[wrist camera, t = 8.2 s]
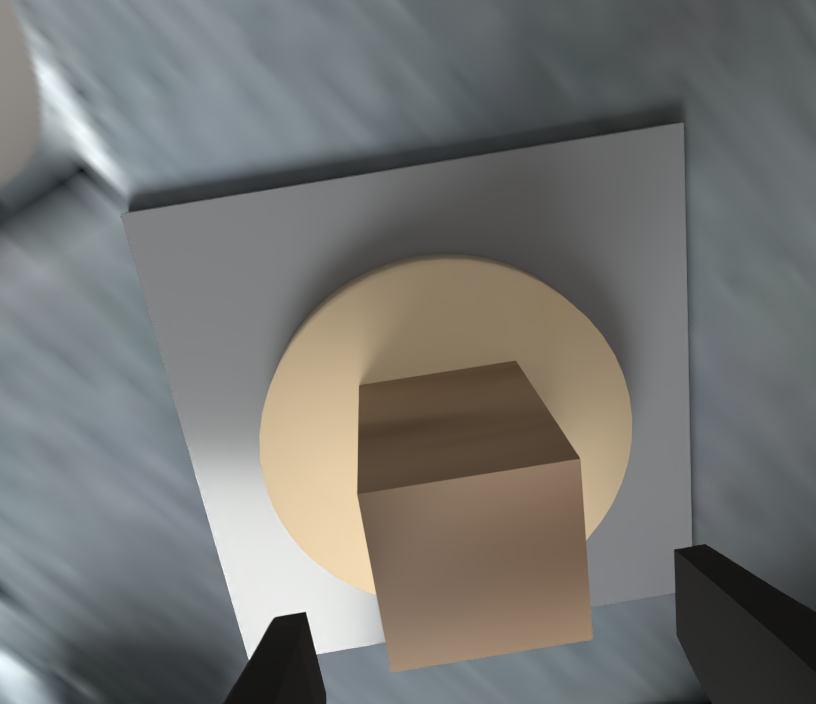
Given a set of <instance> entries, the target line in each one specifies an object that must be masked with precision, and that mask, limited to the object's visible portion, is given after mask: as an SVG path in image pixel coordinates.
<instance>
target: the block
mask: <svg viewBox="0 0 816 704" xmlns="http://www.w3.org/2000/svg"><path fill="white" fill-rule="evenodd" d="M357 496H358V502H359V507H360V512H361V517H362V523H363V528H364V533H365V538H366V543H367V549H368V554H369V559H370V564H371V570H372V575H373V580H374V585H375V591H376V596H377V601H378V606H379V611H380V617H381V622H382V627H383V632H384V638H385V643H386V648H387V653H388V659H389V664H390V669H391V672H397V671H403V670H410V669H416V668H422V667H428V666H434V665H440V664H446V663H452V662H458V661H465V660H471V659H477V658H483V657H489V656H495V655H501V654H507V653H513V652H520V651H526V650H532V649H538V648H544V647H550V646H556V645H562V644H568V643H575V642H581V641H587V640H593V635H592V620H591V606H590V591H589V576H588V561H587V547H586V532H585V517H584V503H583V488H582V473H581V459H580V457H579V456H578V454H577V453H576V451H575V450H574V448H573V447H572V445H571V444H570V442H569V440H568V439H567V437H566V436H565V434H564V433H563V431H562V430H561V428H560V427H559V425H558V424H557V422H556V421H555V419H554V418H553V416H552V415H551V413H550V412H549V410H548V409H547V407H546V405H545V404H544V402H543V401H542V399H541V398H540V396H539V395H538V393H537V392H536V390H535V389H534V387H533V386H532V384H531V383H530V381H529V380H528V378H527V377H526V375H525V374H524V372H523V371H522V369H521V367H520V366H519V364H518V363H517V361H510V362H503V363H497V364H491V365H484V366H478V367H472V368H465V369H459V370H453V371H446V372H440V373H434V374H427V375H421V376H414V377H408V378H402V379H395V380H389V381H383V382H376V383H370V384H364V385H359V406H358V470H357Z"/></svg>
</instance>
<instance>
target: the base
mask: <svg viewBox="0 0 816 704" xmlns="http://www.w3.org/2000/svg"><path fill="white" fill-rule="evenodd" d="M121 218H122V221H123V225H124V228H125V232H126V235H127V239H128V242H129V246H130V249H131V253H132V256H133V260H134V263H135V267H136V270H137V274H138V277H139V280H140V284H141V287H142V291H143V294H144V298H145V301H146V305H147V308H148V312H149V315H150V319H151V322H152V326H153V329H154V333H155V336H156V339H157V343H158V346H159V350H160V353H161V357H162V360H163V364H164V367H165V371H166V374H167V378H168V381H169V385H170V388H171V392H172V395H173V399H174V402H175V405H176V409H177V412H178V416H179V419H180V423H181V426H182V430H183V433H184V437H185V440H186V444H187V447H188V451H189V454H190V458H191V461H192V464H193V468H194V471H195V475H196V478H197V482H198V485H199V489H200V492H201V496H202V499H203V503H204V506H205V510H206V513H207V517H208V520H209V523H210V527H211V530H212V534H213V537H214V541H215V544H216V548H217V551H218V555H219V558H220V562H221V565H222V569H223V572H224V576H225V579H226V583H227V586H228V589H229V593H230V596H231V600H232V603H233V607H234V610H235V614H236V617H237V621H238V624H239V628H240V631H241V635H242V638H243V642H244V645H245V648H246V652H247V655H248V659H249V660H250V658H251V656H252V655H253V653H254V651H255V649H256V648H257V646H258V644H259V642H260V640H261V639H262V637H263V635H264V633H265V631H266V630H267V628H268V626H269V624H270V622H271V621H272V620H273V619H274V617H278V616H284V615H290V614H295V613H301V612H306V614H307V618H308V622H309V626H310V631H311V635H312V639H313V643H314V647H315V651H316V654H321V653H327V652H332V651H338V650H344V649H350V648H356V647H362V646H367V645H373V644H379V643H385V638H384V632H383V627H382V622H381V617H380V611H379V606H378V601H377V596H376V591H375V585H374V580H373V575H372V570H371V564H370V559H369V554H368V549H367V543H366V538H365V533H364V528H363V523H362V517H361V512H360V507H359V502H358V496H357V470H358V406H359V385H364V384H370V383H376V382H383V381H389V380H395V379H402V378H408V377H414V376H421V375H427V374H434V373H440V372H446V371H453V370H459V369H465V368H472V367H478V366H484V365H491V364H497V363H503V362H510V361H517V363H518V364H519V366H520V367H521V369H522V371H523V372H524V374H525V375H526V377H527V378H528V380H529V381H530V383H531V384H532V386H533V387H534V389H535V390H536V392H537V393H538V395H539V396H540V398H541V399H542V401H543V402H544V404H545V405H546V407H547V409H548V410H549V412H550V413H551V415H552V416H553V418H554V419H555V421H556V422H557V424H558V425H559V427H560V428H561V430H562V431H563V433H564V434H565V436H566V437H567V439H568V440H569V442H570V444H571V445H572V447H573V448H574V450H575V451H576V453H577V454H578V456H579V457H580V459H581V473H582V488H583V503H584V517H585V532H586V547H587V561H588V576H589V591H590V606H591V607H595V606H601V605H607V604H613V603H618V602H624V601H630V600H636V599H642V598H648V597H653V596H659V595H665V594H671V593H675V566H674V549H680V548H686V547H692V512H691V461H690V410H689V359H688V308H687V258H686V207H685V156H684V123H670V124H664V125H658V126H652V127H645V128H639V129H633V130H627V131H621V132H615V133H609V134H602V135H596V136H590V137H584V138H578V139H572V140H566V141H559V142H553V143H547V144H541V145H535V146H529V147H523V148H517V149H510V150H504V151H498V152H492V153H486V154H480V155H474V156H467V157H461V158H455V159H449V160H443V161H437V162H431V163H424V164H418V165H412V166H406V167H400V168H394V169H388V170H381V171H375V172H369V173H363V174H357V175H351V176H345V177H338V178H332V179H326V180H320V181H314V182H308V183H302V184H296V185H289V186H283V187H277V188H271V189H265V190H259V191H253V192H246V193H240V194H234V195H228V196H222V197H216V198H210V199H203V200H197V201H191V202H185V203H179V204H173V205H167V206H160V207H154V208H148V209H142V210H136V211H130V212H126V213H123V214H121Z"/></svg>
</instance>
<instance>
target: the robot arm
mask: <svg viewBox="0 0 816 704" xmlns="http://www.w3.org/2000/svg"><path fill="white" fill-rule="evenodd" d="M674 566H675V597H676V628H677V637H678V639H679V641H680V643H681V645H682V647H683V650H684V652H685V654H686V656H687V658H688V660H689V662H690V664H691V666H692V668H693V670H694V672H695V674H696V676H697V678H698V680H699V682H700V684H701V686H702V688H703V690H704V691H705V693H706V694H707V696H708V698H709V699H710V701H711V702H712V704H816V612H815V611H813V610H811V609H809V608H808V607H806V606H804V605H803V604H801V603H799V602H797V601H796V600H794V599H792V598H791V597H789V596H788V595H786V594H784V593H783V592H781V591H779V590H778V589H776V588H774V587H773V586H771V585H770V584H768V583H766V582H765V581H763V580H762V579H760V578H758V577H757V576H755V575H754V574H752V573H750V572H749V571H747V570H746V569H744V568H743V567H741V566H739V565H738V564H736V563H735V562H733V561H732V560H730V559H728V558H727V557H725V556H724V555H722V554H720V553H719V552H717V551H716V550H714V549H712V548H711V547H709V546H707V545H706V544H703V545H697V546H692V547H686V548H680V549H674ZM223 704H326V692H325V688H324V684H323V680H322V675H321V671H320V667H319V663H318V659H317V655H316V651H315V647H314V643H313V639H312V635H311V631H310V626H309V622H308V618H307V614H306V612H301V613H295V614H290V615H284V616H278V617H274V619H273V620H272V621H271V622H270V624H269V626H268V628H267V630H266V631H265V633H264V635H263V637H262V639H261V640H260V642H259V644H258V646H257V648H256V649H255V651H254V653H253V655H252V656H251V658H250V660H249V661H248V663H247V665H246V667H245V668H244V670H243V672H242V673H241V675H240V677H239V678H238V680H237V682H236V683H235V685H234V686H233V688H232V690H231V691H230V693H229V694H228V696H227V698H226V699H225V701H224V703H223Z"/></svg>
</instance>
